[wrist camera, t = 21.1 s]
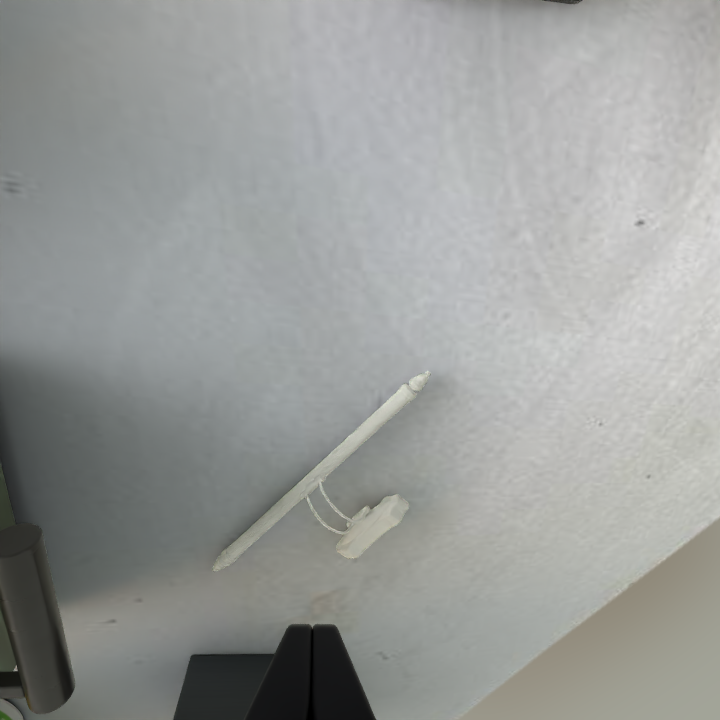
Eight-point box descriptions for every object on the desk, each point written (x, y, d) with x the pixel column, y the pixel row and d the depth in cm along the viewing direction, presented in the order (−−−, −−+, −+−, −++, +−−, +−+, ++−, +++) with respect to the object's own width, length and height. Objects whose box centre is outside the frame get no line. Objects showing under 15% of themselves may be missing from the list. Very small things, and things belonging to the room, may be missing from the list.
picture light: (421, 363, 19) (433, 385, 17) (488, 425, 20) (505, 452, 18) (208, 560, 22) (197, 598, 20) (278, 602, 24) (274, 642, 22)
